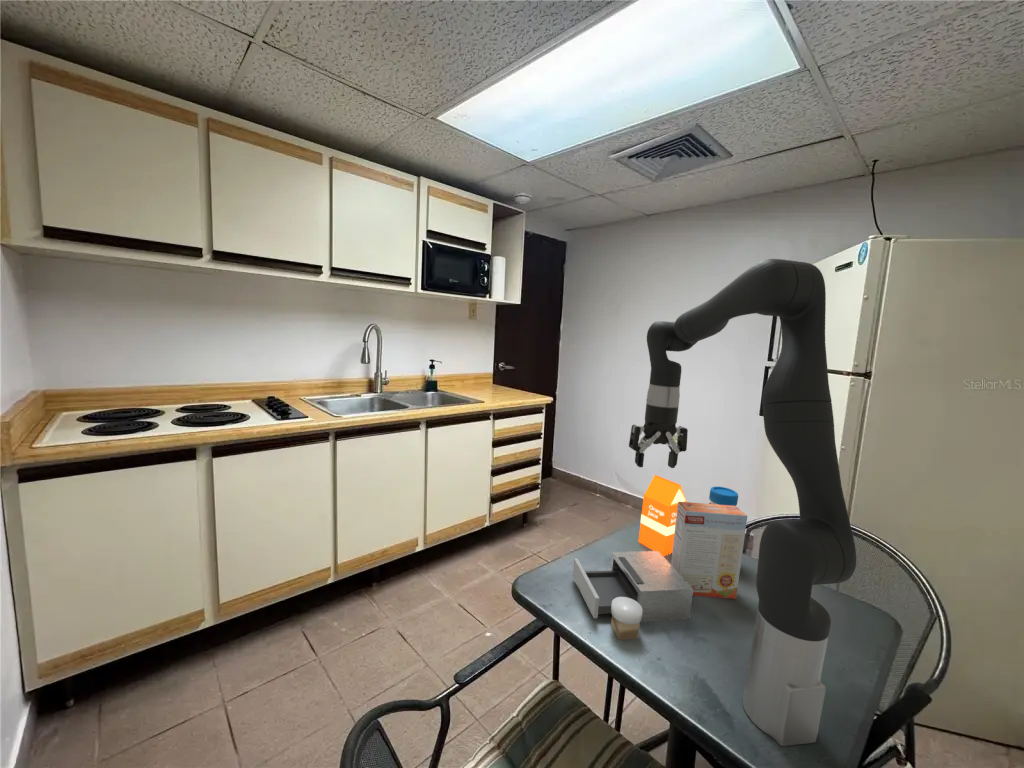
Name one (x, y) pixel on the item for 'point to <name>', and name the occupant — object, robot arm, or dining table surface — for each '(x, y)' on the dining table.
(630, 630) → the tan block
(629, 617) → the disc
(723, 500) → the beverage bottle
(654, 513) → the orange juice
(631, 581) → the block
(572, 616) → the dining table surface
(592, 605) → the grey drawer
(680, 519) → the cracker box
